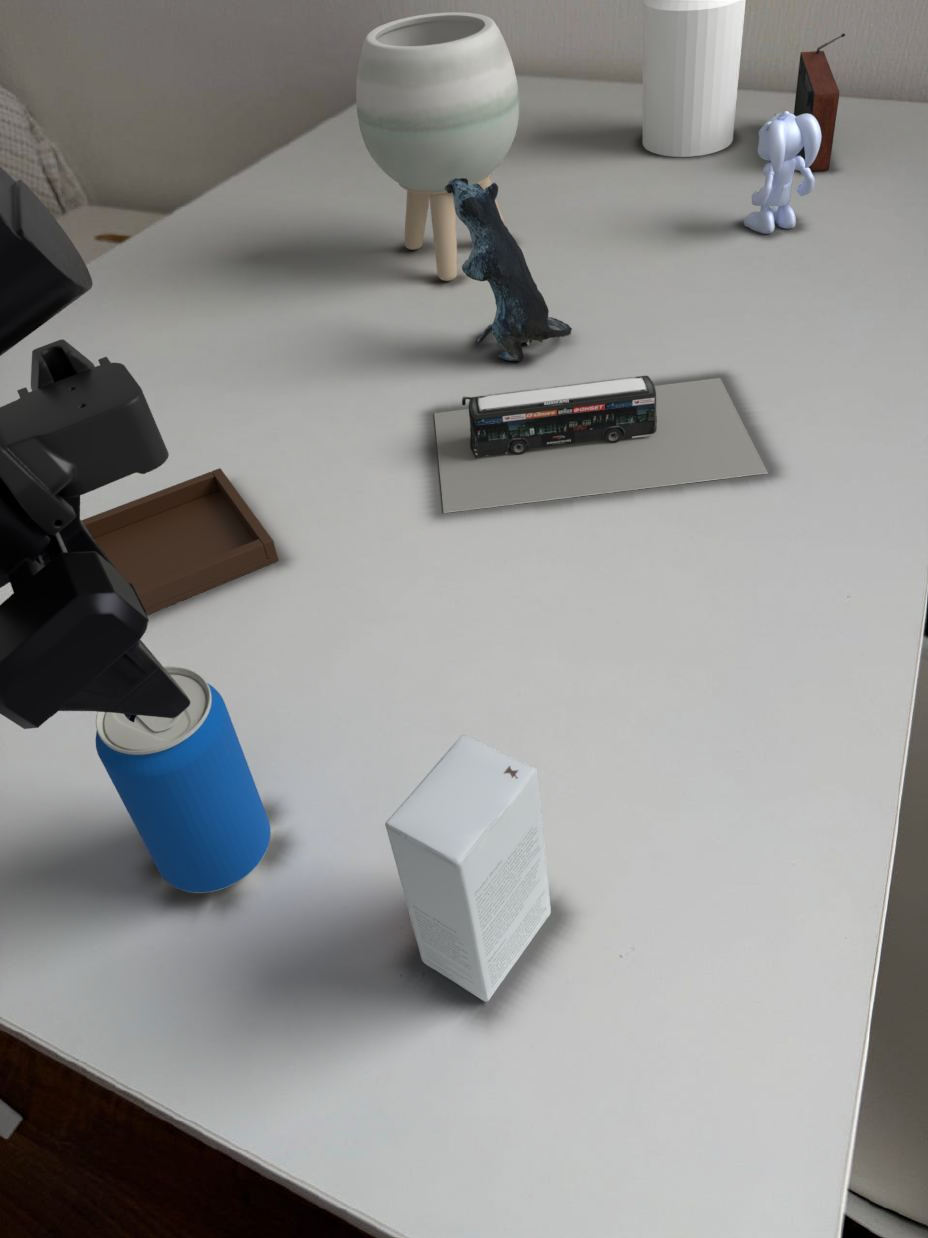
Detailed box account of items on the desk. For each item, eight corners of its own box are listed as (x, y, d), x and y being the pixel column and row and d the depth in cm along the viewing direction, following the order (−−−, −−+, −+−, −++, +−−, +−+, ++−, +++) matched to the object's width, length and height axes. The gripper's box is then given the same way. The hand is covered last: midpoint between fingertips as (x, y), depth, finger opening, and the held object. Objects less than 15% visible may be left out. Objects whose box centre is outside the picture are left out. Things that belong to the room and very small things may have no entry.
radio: (789, 124, 133) (803, -9, 123) (813, 122, 133) (830, -11, 123) (803, 178, 120) (820, 34, 110) (830, 177, 119) (850, 32, 109)
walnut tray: (101, 634, 73) (92, 613, 72) (63, 550, 81) (54, 530, 80) (279, 560, 77) (273, 539, 76) (226, 487, 85) (220, 467, 84)
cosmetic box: (485, 876, 56) (464, 728, 47) (553, 914, 53) (542, 767, 45) (416, 964, 52) (380, 821, 44) (485, 1008, 50) (461, 867, 42)
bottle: (631, 131, 137) (633, -95, 120) (719, 119, 137) (734, -109, 120) (652, 162, 128) (659, -77, 111) (747, 149, 128) (768, -92, 111)
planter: (446, 304, 105) (418, 63, 90) (352, 263, 115) (312, 39, 100) (558, 249, 112) (549, 17, 97) (461, 215, 122) (439, -1, 107)
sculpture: (493, 313, 103) (480, 157, 93) (587, 335, 98) (584, 173, 88) (444, 351, 98) (424, 191, 88) (540, 376, 93) (531, 210, 83)
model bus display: (434, 413, 90) (428, 370, 87) (719, 378, 90) (723, 333, 87) (443, 513, 80) (437, 467, 77) (767, 473, 79) (773, 425, 76)
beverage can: (231, 785, 62) (173, 641, 54) (296, 846, 58) (245, 701, 50) (138, 854, 59) (62, 712, 51) (201, 923, 55) (130, 782, 47)
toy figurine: (785, 209, 114) (798, 92, 106) (817, 229, 110) (834, 109, 102) (729, 222, 113) (738, 105, 105) (759, 244, 109) (771, 123, 100)
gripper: (98, 382, 33) (357, 645, 44) (6, 243, 47) (222, 471, 57) (-170, 612, 33) (158, 821, 44) (-184, 405, 46) (69, 604, 57)
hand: (156, 656), depth 50 cm, fingers open, 9 cm apart
